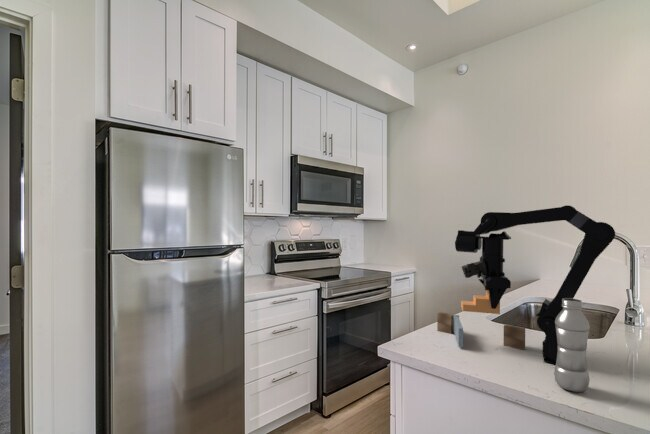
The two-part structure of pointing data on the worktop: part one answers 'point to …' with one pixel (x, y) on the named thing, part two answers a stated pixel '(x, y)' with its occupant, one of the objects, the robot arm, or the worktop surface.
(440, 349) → the worktop surface
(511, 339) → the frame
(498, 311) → the orange stepped block
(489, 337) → the worktop surface
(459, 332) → the grey piece
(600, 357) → the worktop surface
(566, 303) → the silver bottle
